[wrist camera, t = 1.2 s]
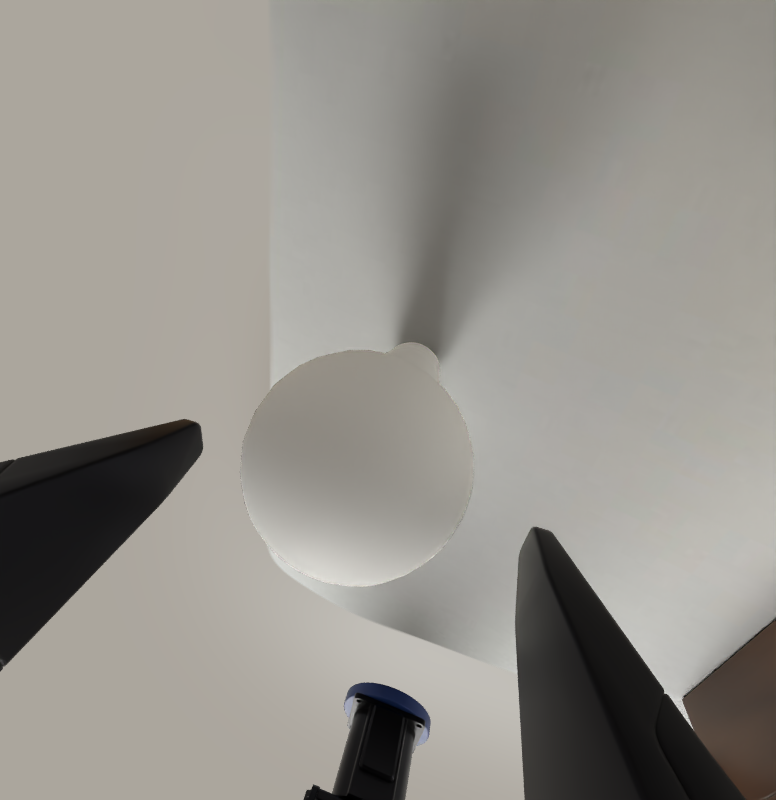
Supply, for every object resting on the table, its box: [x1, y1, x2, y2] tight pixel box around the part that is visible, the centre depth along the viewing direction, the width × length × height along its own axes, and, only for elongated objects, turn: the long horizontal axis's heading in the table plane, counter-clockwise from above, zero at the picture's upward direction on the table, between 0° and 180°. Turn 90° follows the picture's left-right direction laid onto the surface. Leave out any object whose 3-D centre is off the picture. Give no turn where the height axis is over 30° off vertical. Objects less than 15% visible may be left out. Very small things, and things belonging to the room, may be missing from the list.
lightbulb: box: [240, 342, 474, 587], centre depth 12 cm, size 6×6×11 cm
